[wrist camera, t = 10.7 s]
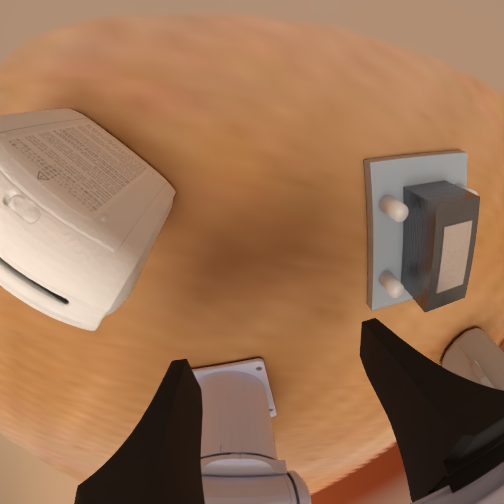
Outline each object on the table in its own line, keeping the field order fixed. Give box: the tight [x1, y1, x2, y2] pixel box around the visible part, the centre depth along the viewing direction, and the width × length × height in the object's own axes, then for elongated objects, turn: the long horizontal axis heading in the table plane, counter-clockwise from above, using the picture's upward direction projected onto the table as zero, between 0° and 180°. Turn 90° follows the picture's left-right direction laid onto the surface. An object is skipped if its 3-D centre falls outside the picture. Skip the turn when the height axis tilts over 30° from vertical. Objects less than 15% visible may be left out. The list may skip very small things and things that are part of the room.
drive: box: [400, 180, 480, 312], centre depth 19 cm, size 8×4×4 cm, turn 11°
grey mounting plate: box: [364, 150, 478, 311], centre depth 20 cm, size 12×9×3 cm
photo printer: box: [0, 109, 176, 331], centre depth 12 cm, size 10×4×12 cm, turn 48°
